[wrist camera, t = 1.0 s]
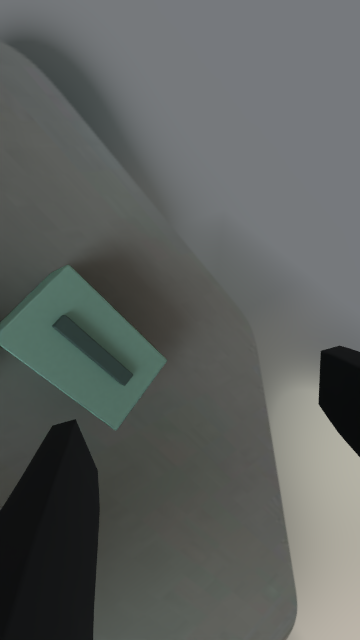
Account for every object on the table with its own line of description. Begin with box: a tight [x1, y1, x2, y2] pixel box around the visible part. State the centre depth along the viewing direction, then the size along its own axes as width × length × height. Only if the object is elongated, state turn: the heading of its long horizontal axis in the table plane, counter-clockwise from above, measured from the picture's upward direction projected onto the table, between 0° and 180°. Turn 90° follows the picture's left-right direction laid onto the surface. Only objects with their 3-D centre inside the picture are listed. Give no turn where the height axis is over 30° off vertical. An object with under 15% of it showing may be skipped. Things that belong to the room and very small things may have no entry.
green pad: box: [0, 265, 167, 430], centre depth 18 cm, size 5×8×4 cm, turn 47°
